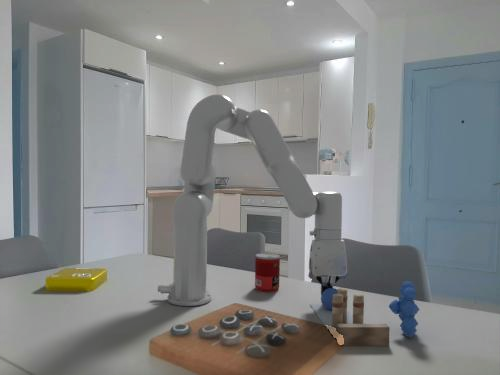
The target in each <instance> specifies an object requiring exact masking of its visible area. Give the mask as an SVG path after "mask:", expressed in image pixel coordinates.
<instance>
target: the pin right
mask: <svg viewBox="0 0 500 375" xmlns="http://www.w3.org/2000/svg"><path fill="white" fill-rule="evenodd" d="M352 298H353V299H352V316H353V324H364V319H365V318H364V312H365V309H364V308H365V296H364V294H361V293H354V294H353V297H352Z"/></svg>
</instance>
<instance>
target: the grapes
mask: <svg viewBox="0 0 500 375" xmlns="http://www.w3.org/2000/svg"><path fill="white" fill-rule="evenodd" d="M399 291H400V293H401V295H399V297H398V299H394V300H392V301H391V302H390V303H389V305H388V307H389V309H390V311H391V312H392V313H393V314H394V315H398V318H399V319H400V320H401V323H400V324H399V326H400V328H401V329H400V330H401V331H402V332H403V334H404V335H405V336H406V337H408V338H412V337H413V336H415V334H416V332H417V331H418V329H417V328H416V327H417V326H418V325H419V322H418V321H417V319H416V318H415V317H416V315H417V313H418V312H419V311H420V308H419V307H418V305H417V304H416V302H415V301H414V300H415V299H416V298H417V297H418V294H417V293H416V287H415V285H414V283H413V282H411V281H410V280H406V281H404V282H403V283H402V284H401V286H400V288H399Z"/></svg>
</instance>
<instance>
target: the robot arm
mask: <svg viewBox="0 0 500 375" xmlns="http://www.w3.org/2000/svg"><path fill="white" fill-rule="evenodd" d="M185 128H186V129H185V136H184V144H183V148H182V149H183V150H182V157H181V164H180V177H181V179H182V181H183V183H184V187H183V188H184V189H183V190H184V191H183V193H182V192H181V193H180V194H179V195H178V196H177V197H176V199H175V201H174V203H173V205H172V220H173V223H172V224H173V275H172V276H173V280H172V283H170V284H168V285H164V284H158V286H157V292H158V293H160V294H168V295H167V302H168V303H170V304H171V305H175V306H179V307H181V306H182V307H194V306H200V305H205V304H208V303H209V302H211V300H212V295H211V293H209V292H208V291H207V273H208V272H207V268H208V267H207V265H208V264H207V263H208V262H207V261H208V259H207V258H208V227H207V226H208V225H207V224H208V223H207V222H208V217H209V215H210V214H211V212H212V209H213V203H214V197H215V196H214V194H215V187H216V180H217V179H216V178H217V168H216V166H215V163H214V162H213V154H214V147H215V137H216V130H217V129H218V130H220V131H223V132H225V133H228V134H230V135H233V136H236V137H240V138H243V139H247V140H250V142H251V144H252V145H253V147H254V149H255V151H256V153H257V154H258V156H259V159H261V162H262V164H263V166H264V168H265V169H266V171H267V172H268V174H269V175H270V176H271V178H272V179H273V180H274V182H275V184H276V185H277V187H278V189H279V190H280V192H281V194H282V197H284V200H285V202H286V203H287V206H288V208H289V211H290V212H291V214H293V215H294V217H295V216H296V217H297V218H299V219H309V218H310V217H311V218H312V216H314V227H313V230H309V235H310V236H312V237H313V238H312V239H311V245H310V250H309V257H308V258H309V259H308V270H309V272H308V275H307V276H308V278H309V279H312V280H314V281H317V282H319V283H320V296H321V295H322V293H323V292H324V291H325V290H326V289H328V288H334V286H335V285H336V283H337V282H338V281H339V280H343V279H346V278H347V273H348V260H347V259H348V258H347V249H346V244H345V243H346V242H345V240H344V239H342V229H343V228H342V226H343V225H342V223H343V222H342V221H343V219H342V218H343V216H342V215H343V196H342V194H341V193H340V192H338V191H319V192H316V191H313V190H312V188H311V186H310V184H309V182H308V181H307V179H306V176H305V175H304V174H303V172H302V170H301V168H300V167H299V165H298V162H297V161H296V159H295V157H294V155H293V153H292V150H290V148H289V146H288V145H287V142H286V141H285V139H284V137H283V136H282V133H281V132H280V130H279V128H278V126H277V124H276V122H275V121H274V118H273V117H272V115H271V114H270V113H269V112H268V111H267V110H264V109H254V110H252V111H250V110H246V109H243V108H241V107H238V106H235V104H234V102H233V101H232V100H231V99H230V97H228V96H226V95H224V94H219V93H218V94H210V95H208V96H206V97H204V98H203V99H201V100H200V101H198V102H197V103H196V104H195V105H194V106H193V108H192V110H191V111H190V113H189V115H188V119H187V123H186V127H185ZM326 278H327V279H326Z"/></svg>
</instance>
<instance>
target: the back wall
mask: <svg viewBox="0 0 500 375" xmlns="http://www.w3.org/2000/svg"><path fill="white" fill-rule="evenodd" d="M336 331H337V332H338V333H339V334H341V335H343V338H344V344H343V346H342V347H365V346H366V347H370V346H371V347H374V346H375V347H376V346H377V347H380V346H381V347H384V346H385V347H386V346H387V347H388V346H390V326H389V325H388V324H386V323H363V324H337V328H336Z"/></svg>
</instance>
